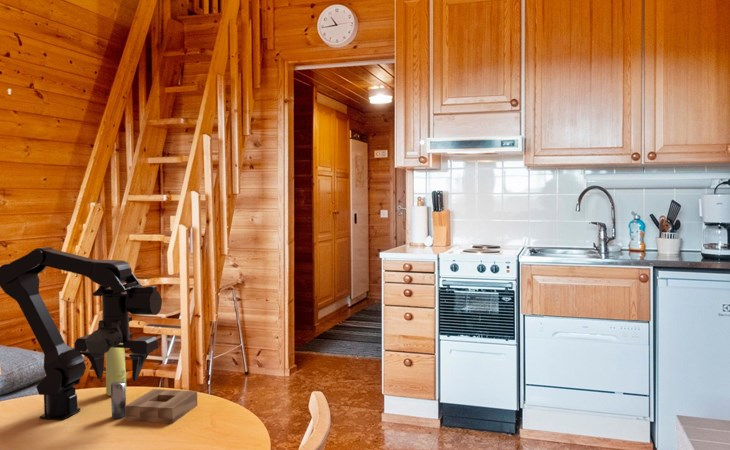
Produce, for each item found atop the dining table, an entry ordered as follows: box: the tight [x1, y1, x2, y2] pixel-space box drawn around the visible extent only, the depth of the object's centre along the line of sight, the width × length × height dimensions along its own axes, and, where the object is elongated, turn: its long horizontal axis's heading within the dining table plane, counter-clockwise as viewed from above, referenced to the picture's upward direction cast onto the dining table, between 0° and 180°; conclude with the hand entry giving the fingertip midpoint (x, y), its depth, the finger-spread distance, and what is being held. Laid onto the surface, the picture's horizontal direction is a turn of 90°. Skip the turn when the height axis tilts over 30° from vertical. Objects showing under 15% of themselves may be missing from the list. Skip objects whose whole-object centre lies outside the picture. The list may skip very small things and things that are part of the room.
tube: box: [105, 343, 127, 397], centre depth 153 cm, size 6×5×20 cm
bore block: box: [124, 388, 198, 424], centre depth 139 cm, size 12×12×4 cm
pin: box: [110, 381, 127, 420], centre depth 136 cm, size 3×3×8 cm
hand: (117, 379), depth 136 cm, fingers open, 9 cm apart
